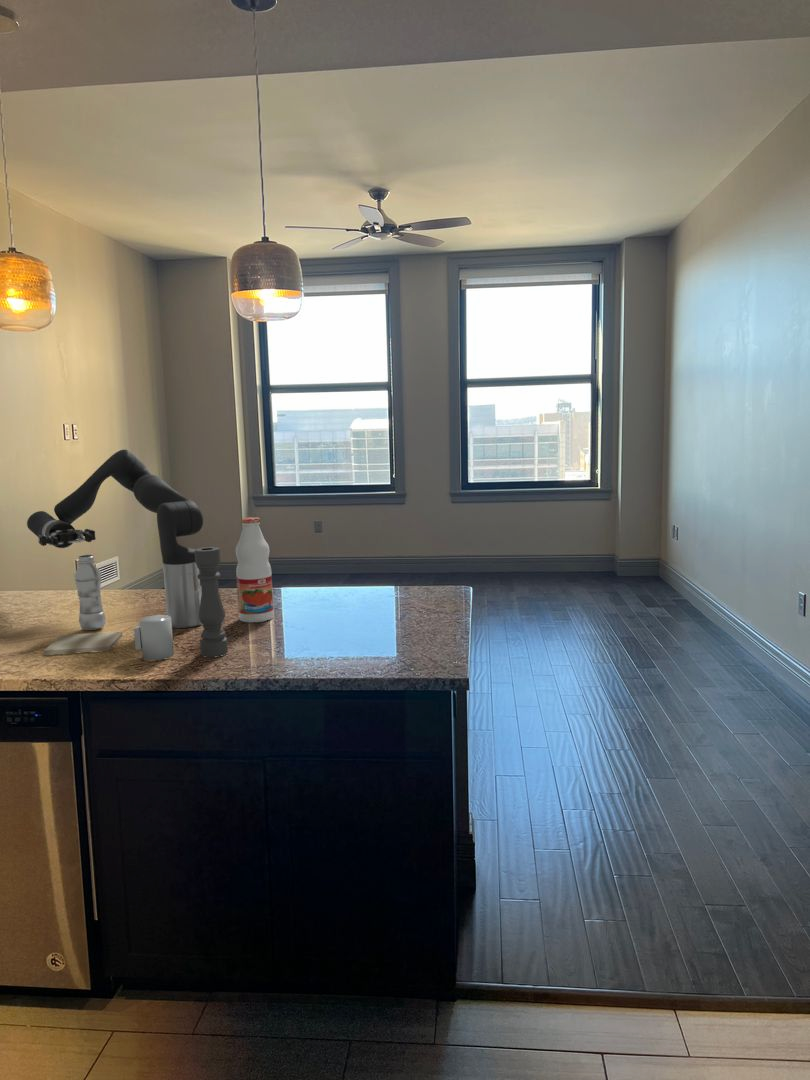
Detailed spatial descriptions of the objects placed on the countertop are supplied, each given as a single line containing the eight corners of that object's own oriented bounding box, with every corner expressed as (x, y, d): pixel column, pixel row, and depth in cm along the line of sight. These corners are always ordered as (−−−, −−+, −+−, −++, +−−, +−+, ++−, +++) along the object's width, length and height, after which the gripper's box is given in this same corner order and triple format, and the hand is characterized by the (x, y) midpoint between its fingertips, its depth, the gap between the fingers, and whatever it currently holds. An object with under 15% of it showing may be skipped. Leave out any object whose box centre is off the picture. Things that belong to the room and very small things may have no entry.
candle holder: (217, 648, 181) (210, 545, 177) (233, 652, 177) (226, 548, 173) (195, 654, 177) (187, 549, 172) (211, 659, 173) (204, 552, 169)
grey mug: (176, 650, 180) (173, 614, 179) (171, 659, 173) (168, 621, 172) (140, 652, 179) (137, 616, 178) (134, 662, 172) (131, 624, 171)
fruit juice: (266, 612, 214) (260, 515, 209) (279, 619, 206) (273, 518, 201) (234, 617, 209) (228, 518, 204) (246, 625, 201) (239, 521, 196)
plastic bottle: (97, 633, 197) (90, 558, 194) (74, 632, 198) (66, 558, 195) (111, 626, 203) (104, 553, 200) (89, 625, 205) (82, 553, 201)
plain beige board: (122, 636, 194) (122, 631, 194) (109, 651, 181) (109, 646, 181) (61, 639, 192) (61, 635, 192) (44, 655, 179) (44, 650, 179)
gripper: (30, 523, 214) (44, 529, 201) (83, 518, 222) (99, 523, 210) (33, 549, 215) (47, 557, 202) (85, 543, 223) (101, 550, 211)
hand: (73, 540), depth 206 cm, fingers open, 8 cm apart
